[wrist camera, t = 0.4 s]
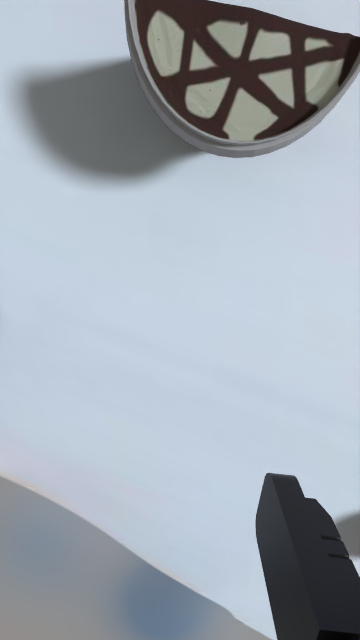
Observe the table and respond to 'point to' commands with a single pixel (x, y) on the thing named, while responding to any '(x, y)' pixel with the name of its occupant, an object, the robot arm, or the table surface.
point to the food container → (236, 73)
